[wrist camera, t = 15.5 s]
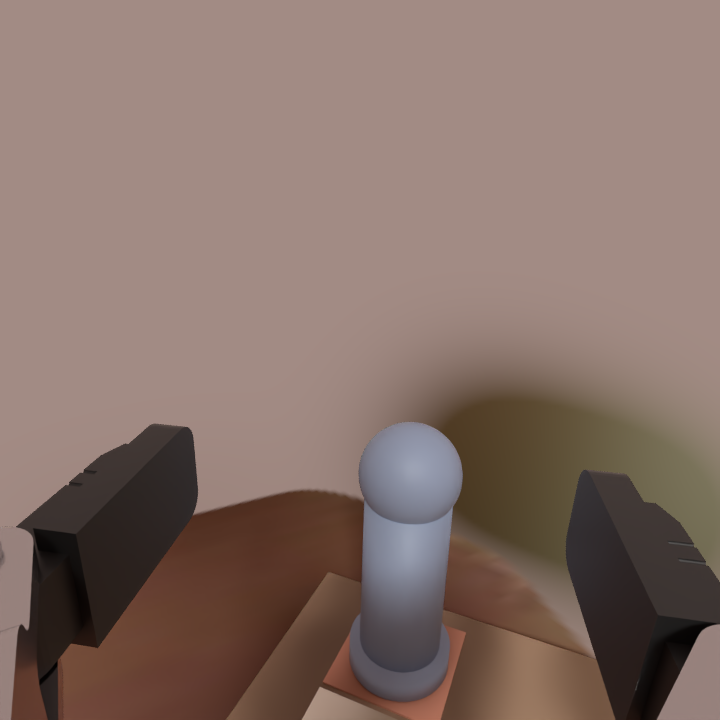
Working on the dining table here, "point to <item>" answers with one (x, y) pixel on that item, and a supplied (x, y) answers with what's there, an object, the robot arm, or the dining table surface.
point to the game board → (445, 705)
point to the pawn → (405, 561)
